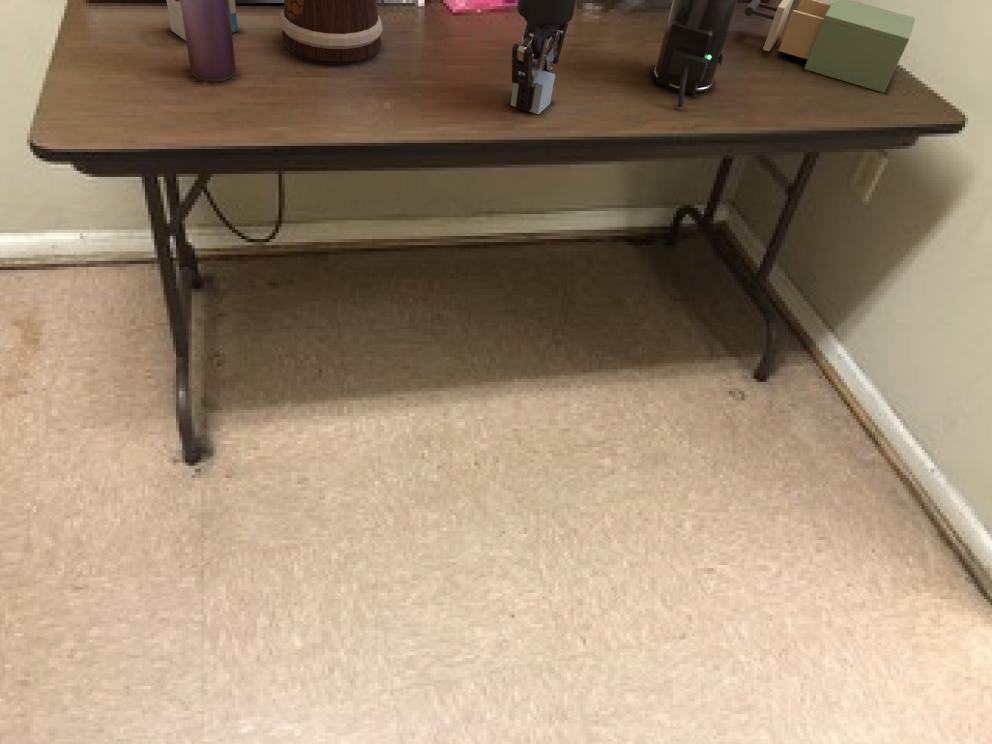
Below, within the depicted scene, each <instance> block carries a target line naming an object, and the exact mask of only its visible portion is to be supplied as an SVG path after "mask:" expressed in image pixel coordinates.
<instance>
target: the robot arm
mask: <svg viewBox="0 0 992 744" xmlns="http://www.w3.org/2000/svg"><path fill="white" fill-rule="evenodd" d="M576 2H577V0H517V7H516V9H517V12H518V14H519V15H520V16H521V17H523V19H524V20H525V21H526V25H525V28H524V30H523V32H522V36H521V42H522V43H521V44H520V43H514V44H513V45H512V49H511V50H512V51H511V83H513V84H514V83H517V84H519V87H518V94H517V100H516V107H515V108H517V109H518V110H521V111H523V112H526V113H527V112H529V110H531V108H532V103H533V97H534V91H535V85H536V81H537V77H538V73H539V71H540V70H544V71H547V72H550V73H552V71H553V70H554V65H558V63H559V60H560V55H561V52H562V48H563V44H564V40H565V37H566V34H567V29H568V26H569V22H571V20H572V19H573V18H574V13H575V7H576ZM738 2H739V0H672V4H671V7H670V12H669V15H668V18H667V23H666V27H665V30H664V35H663V36H662V37H663V38H662V42H661V45H660V46H661V47H660V50H659V52H658V53H659V54H658V57H657V60H656V64H655V67H654V70H653V77H654V79H656V81H655V82H656V84H657V85H659V86H663V87H665V88H669V89H672V90H675V91H678V97H677V107H678V108H683V107H684V103H685V94H687V95H692V96H694V95H695V94H696V93H697V94H698V93H703V92H707V91H709V90H710V89H711V88H712V86H713V83H714V78H715V75H716V72H717V68H718V65H719V66H720V67H722V64H723V59H724V56H723V54H722V52H723V49H724V47H725V43H726V40H727V37H728V34H729V30H730V28H731V23H732V20H733V17H734V15H735V12H736V8H737V5H738ZM533 60H534V61H533ZM532 69H533V73H532ZM524 74H525V75H524Z"/></svg>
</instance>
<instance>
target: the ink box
mask: <svg viewBox="0 0 992 744" xmlns="http://www.w3.org/2000/svg"><path fill="white" fill-rule="evenodd" d="M165 1H166V4H167V5H166V6H167V12H168V19H169V25H170V30H171V32H173V33H174V34H176V35H177V36H178V37H180V38H181V39H183V40H184V41H185V42H186V36H185V29H184V22H183V15H182V8H181V1H180V0H165ZM229 8H230V17H231V27H232V34H234V33H237V32H239V27H238V18H237V17H238V16H237V7H236V0H229Z"/></svg>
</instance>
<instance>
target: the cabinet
mask: <svg viewBox="0 0 992 744" xmlns="http://www.w3.org/2000/svg"><path fill="white" fill-rule="evenodd" d="M830 4H831V6H830V8H829V10H828V11H827V13H826V15H825V17H824V20H823V22H822V25H821V27H820V30H819V32H818V35H817V38H816V40H815V43H814V45H813V48H812V50H811V53H810V55H809V58H808V59H806V63H805V66H804V70H806V71H809V72H813V73H817V74H820V75H823V76H826V77H829V78H833V79H836V80H840V81H842V82H846V83H850V84H854V85H856V86H860V87H863V88H867V89H870V90H873V91H877V92H880V93H883V94H884V93H885V92H886V90H887V87H888V86H889V83H890V81H891V79H892V77H893V75H894V73H895V71H896V69H897V66H898V64H899V62H900V60H901V58H902V56H903V54H904V52H905V50H906V47H907V46H908V43H909V41H910V38H911V35H912V33H913V28H914V25H915V21H916V17H914V16H910V15H906V14H903V13H899V12H896V11H892V10H888V9H885V8H882V7H878V6H874V5H870V4H868V3H863V2H859V1H856V0H833V1H832V3H830Z"/></svg>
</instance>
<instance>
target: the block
mask: <svg viewBox="0 0 992 744" xmlns="http://www.w3.org/2000/svg"><path fill="white" fill-rule="evenodd" d="M532 73H533V69H532ZM524 75H525V74H524ZM555 80H556V73H552V72H551V73H550V72H547V71H544V70H540V71H539V73H538V77H537V81H536V85H535V91H534V97H533V103H532V108H531V110H529V111H528V112H530V113H533V114H535V115H539V114H540V113H541V112H543V111H544V110H545V109H546V108H547V107H549V105H550V104H551V102H552V96H553V92H554V91H553V90H554V84H555ZM518 87H519V84H517V83H513V84H512V92H511V99H510V106H512V107H515V108H517V107H516V100H517V94H518Z"/></svg>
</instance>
